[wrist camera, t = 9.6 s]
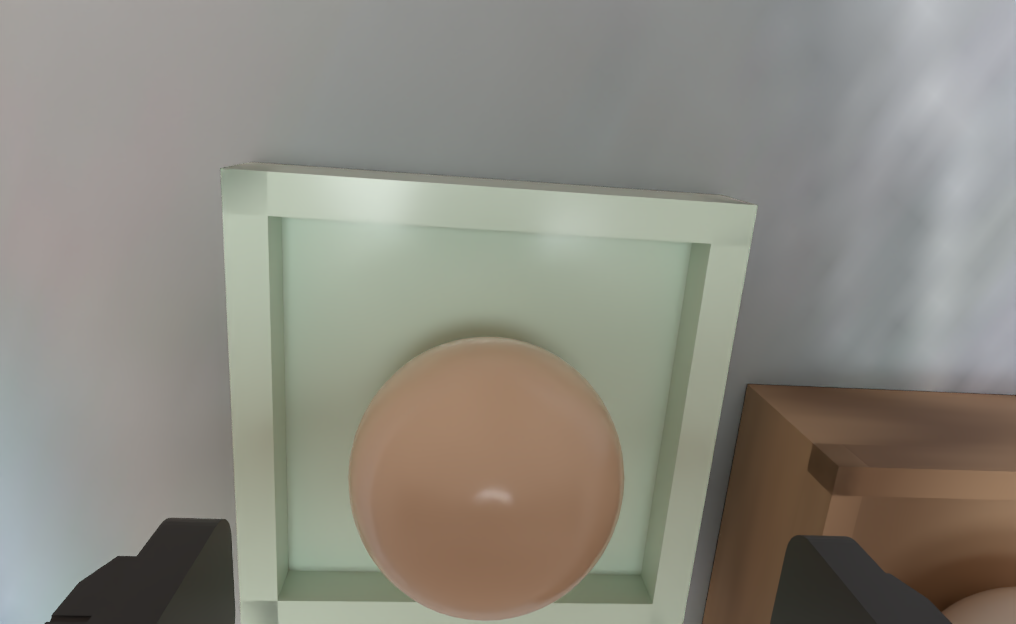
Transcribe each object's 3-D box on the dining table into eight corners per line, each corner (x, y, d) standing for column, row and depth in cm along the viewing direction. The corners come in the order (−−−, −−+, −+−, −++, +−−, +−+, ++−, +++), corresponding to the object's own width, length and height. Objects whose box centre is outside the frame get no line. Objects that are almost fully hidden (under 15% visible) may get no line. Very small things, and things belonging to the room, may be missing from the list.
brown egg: (607, 310, 14) (683, 410, 9) (581, 514, 15) (636, 693, 11) (370, 298, 14) (321, 396, 9) (366, 508, 15) (322, 692, 10)
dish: (721, 195, 14) (757, 205, 13) (658, 581, 17) (681, 632, 15) (250, 161, 13) (220, 168, 12) (263, 576, 16) (240, 630, 14)
